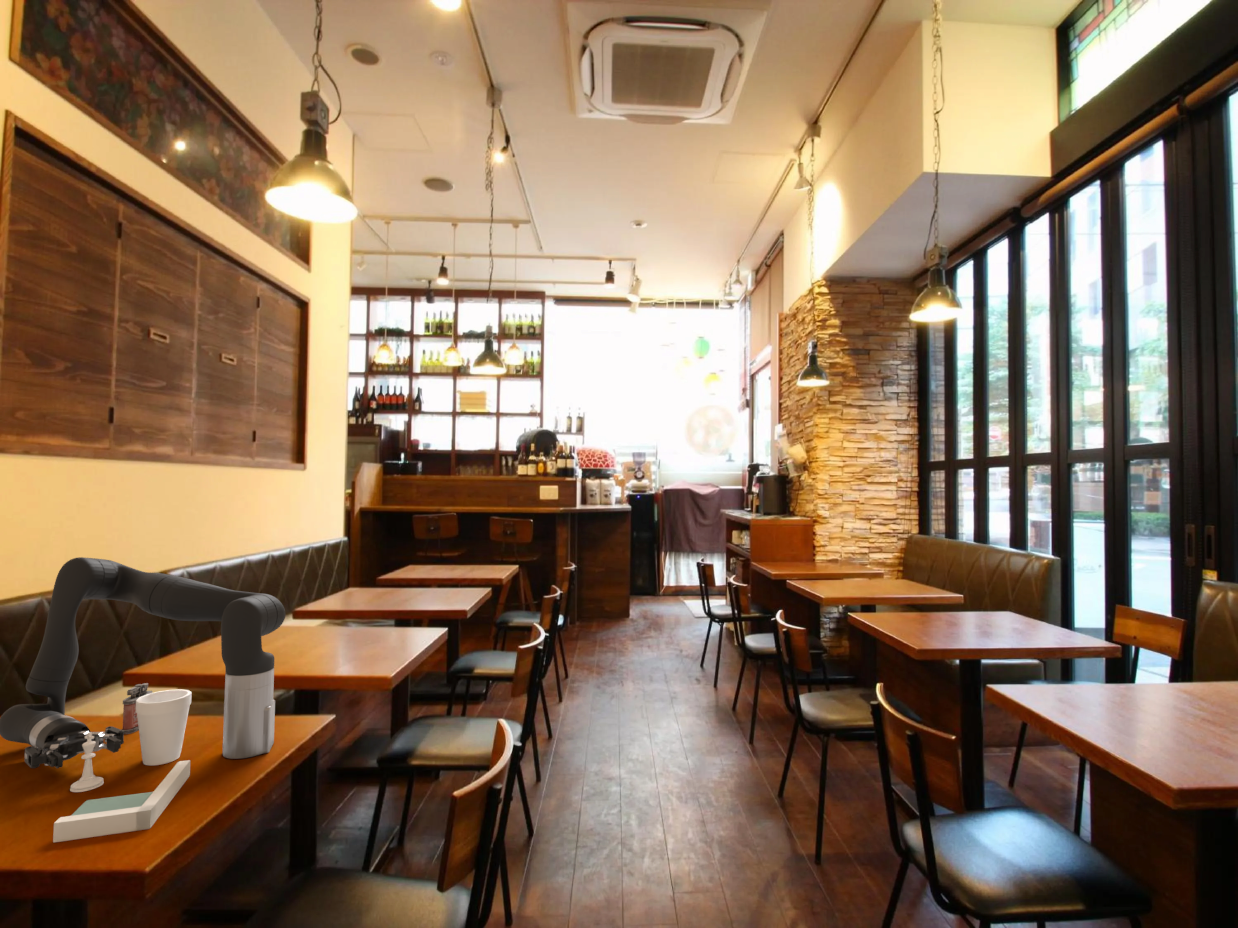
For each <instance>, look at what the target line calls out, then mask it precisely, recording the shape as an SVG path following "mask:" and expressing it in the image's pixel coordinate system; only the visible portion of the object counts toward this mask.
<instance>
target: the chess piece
mask: <svg viewBox="0 0 1238 928" xmlns="http://www.w3.org/2000/svg"><path fill="white" fill-rule="evenodd" d="M92 732H93V731H91V732H89V733H88V735H86V736H85V739H87V742H85V743H83V744H82V747H83V749H84V752H83V753H84V754H82V755H81V760H84V764H83V770H82V775H81V777H80V778H79V779H78V780H77V781H75V782H73V783H71V785H70V788H69V791H70V792H72V793H82V792H83V793H84V792H87V791H91V790H94V789H97V788H99V787H101V786H103V785H104V783H105V782H104V778H103V777H102V776H96V775H95V774H94V770H93V769H94V768H93V759H92V758H94V757H96V753H95V752H92V751H93V749H94V747H95V744H96V742H95V741H91V739H94V736H92Z"/></svg>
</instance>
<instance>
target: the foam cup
mask: <svg viewBox="0 0 1238 928" xmlns="http://www.w3.org/2000/svg"><path fill="white" fill-rule="evenodd" d="M191 704H192V691H190V690H189V689H181V688H179V689H178V688H177V689H167V690H159V691H155V692H153V693H150V694H146V695H144V696H141V697H139V698H138V699H137V700H136V713H137V718H138V726H139V730H138V734H139V742H140V751H141V759H142V764H143V765H145V766H159V765H164V764H168V763H169V764H170V763H171V762H173V761H176V760H177V759H179V758H180V756H181V753H182V749H183V744H184V739H185V731H186V727H187V722H188V718H189V717H188V716H189V711H190V705H191Z"/></svg>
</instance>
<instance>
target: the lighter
mask: <svg viewBox="0 0 1238 928" xmlns="http://www.w3.org/2000/svg"><path fill="white" fill-rule="evenodd" d="M148 688H149V683H148V682H146V683H145V682H144V683H142V684H141V683H138V684H135V685H134V686H133V687H131V688H129V689H128V690H127V691H126V695H127V696H128V697H126V698H125V699H123V700H122V705H123V711H122V712H123V713H122V728H121V730H123V731H124V735H129V734H134V733H135V732H139V726H138V718H137V713H136V700H137V699H138V698H139V697H141V696H144V695H146V694H150V693H154V692H153V691H152V690H148Z"/></svg>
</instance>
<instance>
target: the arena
mask: <svg viewBox="0 0 1238 928" xmlns="http://www.w3.org/2000/svg"><path fill="white" fill-rule="evenodd" d="M190 776H191V760H190V759H188V760H186V759H185V760H180V761H177V762H176V764H175V765H174V766H173V768H172V769H171V770H170V771H169V772H168V774H167V775H166V776H165V777H164V779H162V780H161V782H160V783H159V785H157V786H156V788H155V789H154V791H149V792H147V791H146V792H141V793H133V794H126V795H116V796H110V797H101V798H95V799H86V801H84V802H83V803H82V804H81V805H80V806H79V807H78V808H77V809H76V810H75V811H74V812H73V813H72V814H71V815H67V816H59V818H58V819H57V820H56V821H54V823H53V835H52V842H53V843H60V842H61V843H62V842H67V841H73V840H80V839H88V838H93V837H94V838H95V837H102V836H107V835H108V836H110V835H116V834H124V833H129V832H136V831H142V830H150V829H151V828H152V827H153V826H154V824H155V823H156V822H157V820H158V819H159V818H160V816H161V815H162V813H163V812H164V811H165V809H166V808H167V807H168V805H169V804H170V803H171V801H172V800H174V797H175V796H176V795H177V793H178V792H179V791H180V790H181V788H182V787H183V786H184V785H185V783H186V781H188V779H189V777H190Z"/></svg>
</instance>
